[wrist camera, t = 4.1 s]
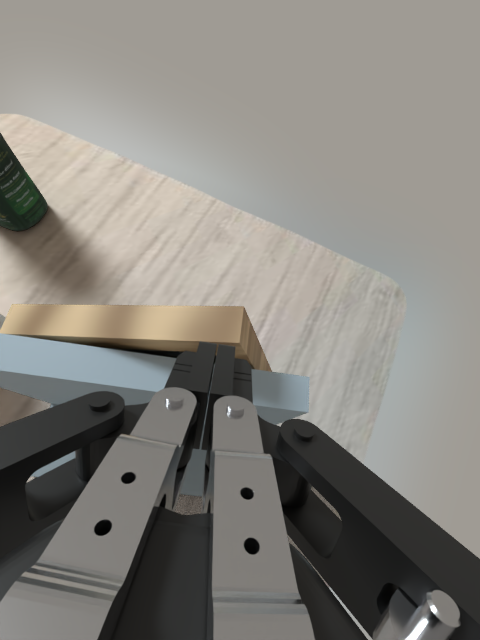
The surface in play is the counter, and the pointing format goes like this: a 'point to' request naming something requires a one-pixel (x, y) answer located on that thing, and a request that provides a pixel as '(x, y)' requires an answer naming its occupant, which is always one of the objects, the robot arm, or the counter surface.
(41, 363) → the bookend
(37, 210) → the coffee jar
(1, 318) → the supplement box
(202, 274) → the counter surface
